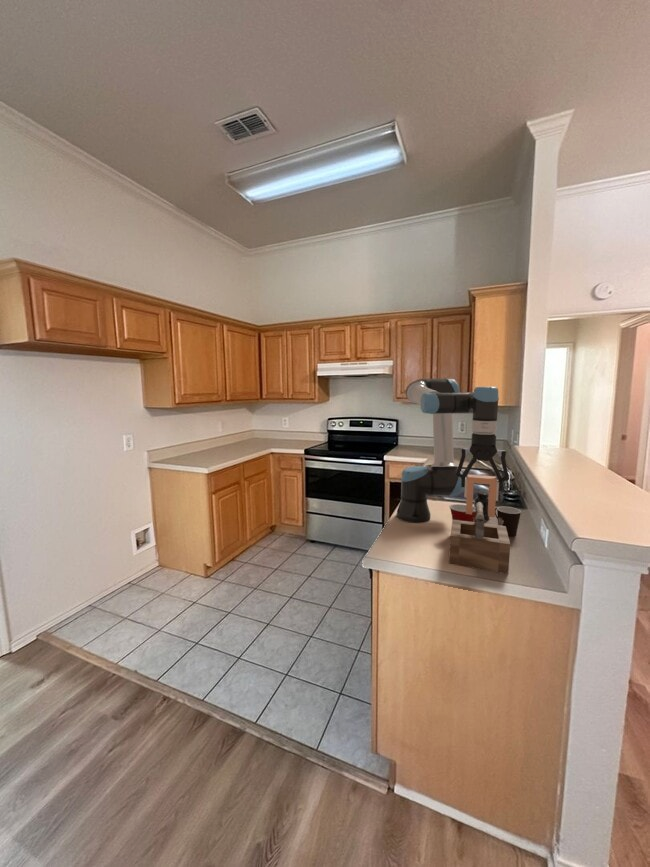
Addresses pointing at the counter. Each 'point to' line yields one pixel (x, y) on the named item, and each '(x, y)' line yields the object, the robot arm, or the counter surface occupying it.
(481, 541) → the open wooden box
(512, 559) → the counter surface
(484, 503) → the supplement bottle
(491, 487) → the block
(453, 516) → the plastic cup
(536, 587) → the counter surface
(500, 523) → the coffee mug
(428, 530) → the counter surface
